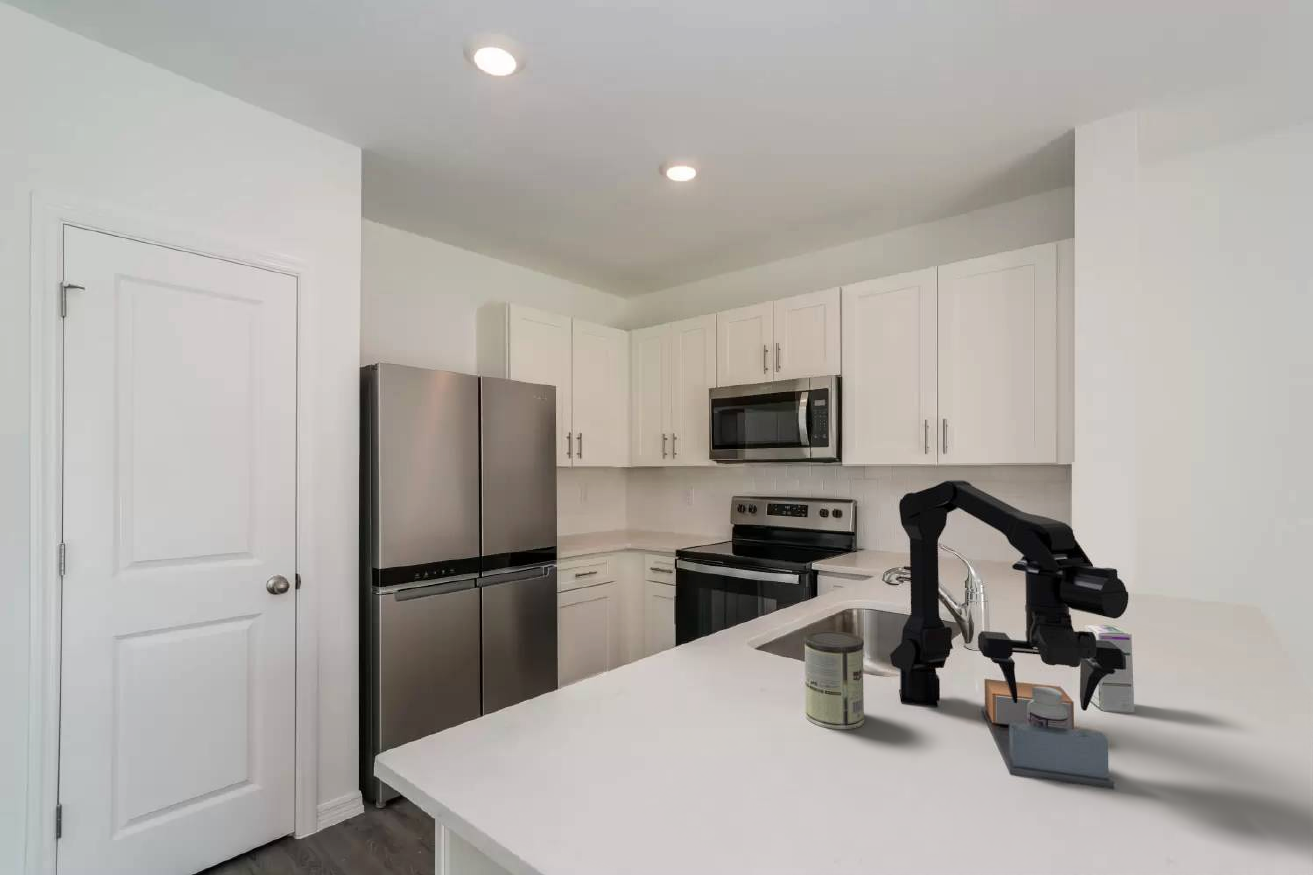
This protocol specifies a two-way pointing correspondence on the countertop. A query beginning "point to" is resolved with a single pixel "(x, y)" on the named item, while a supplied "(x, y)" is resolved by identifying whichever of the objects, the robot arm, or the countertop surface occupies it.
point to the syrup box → (1116, 687)
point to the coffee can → (834, 679)
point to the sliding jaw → (1008, 711)
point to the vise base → (1052, 753)
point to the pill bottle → (1047, 708)
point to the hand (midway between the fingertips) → (1048, 705)
